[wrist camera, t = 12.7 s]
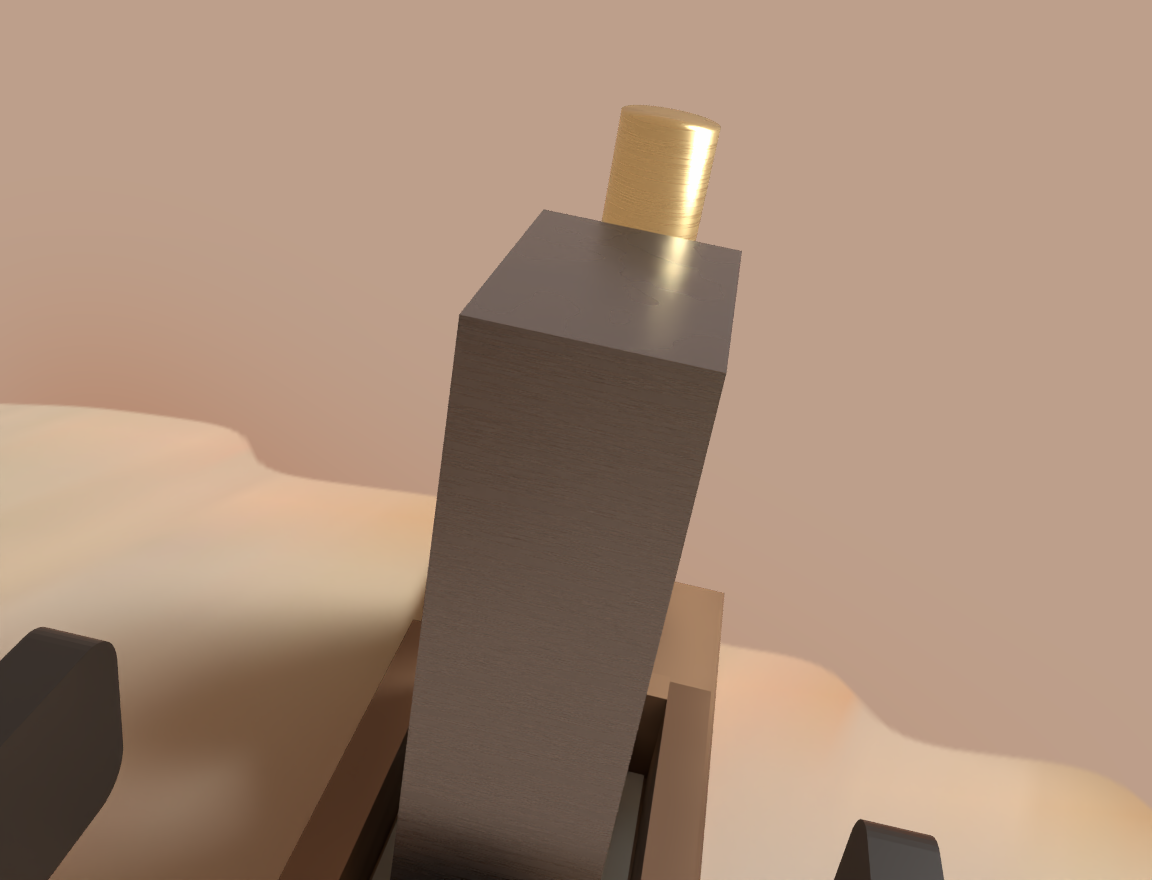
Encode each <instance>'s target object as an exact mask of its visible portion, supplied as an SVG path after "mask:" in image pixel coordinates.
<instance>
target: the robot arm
mask: <svg viewBox="0 0 1152 880" xmlns="http://www.w3.org/2000/svg"><path fill="white" fill-rule="evenodd" d="M122 754H123V738H122V723H121V709H120V694H119V680H118V665H117V655H116V651H115V648H114V647H113V645H112V644H111V643H110V642H106V641H102V640H98V639H94V638H89V637H85V636H81V635H76V634H72V633H68V632H63V631H59V630H55V629H51V628H46V627H40V628H37V629H34V630H33V631H31V632H30V633H28V634H27V635H26V636H25V637H24V638H23V639H22V640H21V641H20V642H19V643H18V644H17V645H16V646H15V647H14V648H13V649H12V650H11V651H10V652H9V653H8V654H7V655H6V656H5V657H4V658H3V659H2V660H0V880H48V879H49V878H50V876H51V875H52V874H53V872H54V871H55V870H56V868H57V867H58V866H59V864H60V863H61V862H62V860H63V859H64V858H65V856H66V855H67V854H68V852H69V851H70V849H71V848H72V847H73V845H74V844H75V843H76V841H77V840H78V839H79V837H80V836H81V835H82V833H83V832H84V831H85V829H86V828H87V827H88V825H89V824H90V823H91V821H92V820H93V819H94V817H95V816H96V815H97V813H98V812H99V811H100V809H101V808H102V806H103V805H104V803H105V802H106V800H107V798H108V797H109V795H110V793H111V791H112V789H113V786H114V784H115V781H116V779H117V776H118V773H119V769H120V765H121V761H122ZM834 880H944V877H943V870H942V864H941V858H940V852H939V847H938V844H937V841H936V840H935V838H934V837H933V836H931V835H926V834H922V833H918V832H913V831H909V830H905V829H901V828H896V827H892V826H888V825H883V824H879V823H875V822H870V821H866V820H862V819H860V820H858V821H857V822H856V824H855V825H854V827H853V829H852V832H851V834H850V837H849V840H848V843H847V845H846V848H845V851H844V854H843V856H842V859H841V862H840V865H839V868H838V870H837V873H836V876H835V879H834Z"/></svg>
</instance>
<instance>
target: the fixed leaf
mask: <svg viewBox="0 0 1152 880" xmlns="http://www.w3.org/2000/svg"><path fill="white" fill-rule="evenodd" d="M720 128H721V127H720V125H719V124H718V123H716V122H714V121H712V120H710V119H708V118H705V117H702V116H699V115H696V114H692V113H688V112H684V111H679V110H675V109H670V108H664V107H656V106H647V105H629V106H624V107H623V108H622V110H621V116H620V122H619V127H618V133H617V139H616V144H615V150H614V156H613V161H612V167H611V172H610V177H609V183H608V189H607V194H606V200H605V206H604V211H603V217H602V222H606V223H610V224H615V225H620V226H625V227H629V228H634V229H639V230H644V231H648V232H653V233H658V234H663V235H667V236H672V237H677V238H682V239H686V240H691V241H696V237H697V232H698V228H699V223H700V218H701V214H702V210H703V205H704V201H705V196H706V192H707V187H708V182H709V178H710V173H711V168H712V164H713V159H714V155H715V151H716V146H717V142H718V137H719V132H720Z"/></svg>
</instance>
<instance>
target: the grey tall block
mask: <svg viewBox="0 0 1152 880" xmlns="http://www.w3.org/2000/svg"><path fill="white" fill-rule="evenodd" d="M741 253H742V251H739V250H733V249H729V248H724V247H720V246H715V245H710V244H705V243H701V242H696V241H691V240H686V239H682V238H677V237H672V236H667V235H663V234H658V233H653V232H648V231H644V230H639V229H634V228H629V227H625V226H620V225H615V224H610V223H606V222H601V221H596V220H591V219H587V218H582V217H577V216H572V215H568V214H562V213H558V212H553V211H549V210H543V211H542V212H541V214H540V215H539V216H538V217H537V219H536V220H535V221H534V222H533V224H532V225H531V226H530V227H529V228H528V230H527V231H526V232H525V233H524V235H523V236H522V237H521V239H520V240H519V241H518V242H517V243H516V245H515V246H514V247H513V248H512V250H511V251H510V252H509V253H508V255H507V256H506V257H505V258H504V260H503V261H502V262H501V263H500V265H499V266H498V267H497V268H496V270H495V271H494V272H493V273H492V275H491V276H490V277H489V278H488V280H487V281H486V282H485V283H484V285H483V286H482V287H481V288H480V290H479V291H478V292H477V293H476V295H475V296H474V297H473V298H472V300H471V301H470V302H469V303H468V304H467V306H466V307H465V308H464V310H463V311H462V312H461V313H460V315H459V322H458V330H457V338H456V347H455V355H454V363H453V371H452V379H451V388H450V396H449V404H448V412H447V421H446V428H445V437H444V444H443V453H442V461H441V469H440V477H439V485H438V493H437V501H436V510H435V518H434V526H433V534H432V542H431V550H430V559H429V567H428V575H427V583H426V591H425V599H424V607H423V616H422V624H421V632H420V640H419V648H418V656H417V665H416V673H415V681H414V689H413V697H412V705H411V713H410V722H409V730H408V738H407V746H406V754H405V762H404V771H403V779H402V787H401V795H400V803H399V811H398V819H397V828H396V836H395V844H394V852H393V860H392V868H391V877H390V880H601V876H602V872H603V868H604V864H605V860H606V856H607V852H608V848H609V844H610V840H611V836H612V832H613V828H614V824H615V820H616V816H617V812H618V808H619V804H620V800H621V795H622V791H623V787H624V783H625V779H626V775H627V771H628V767H629V763H630V759H631V755H632V751H633V747H634V743H635V739H636V735H637V731H638V727H639V723H640V719H641V715H642V711H643V707H644V703H645V699H646V695H647V691H648V687H649V683H650V679H651V675H652V671H653V667H654V662H655V658H656V654H657V650H658V646H659V642H660V638H661V634H662V630H663V626H664V622H665V618H666V614H667V610H668V606H669V602H670V598H671V594H672V590H673V586H674V582H675V578H676V574H677V570H678V565H679V562H680V558H681V554H682V549H683V546H684V542H685V537H686V533H687V529H688V525H689V521H690V517H691V513H692V509H693V505H694V501H695V497H696V493H697V489H698V485H699V481H700V477H701V473H702V469H703V465H704V460H705V457H706V453H707V449H708V445H709V441H710V437H711V433H712V429H713V424H714V421H715V417H716V413H717V408H718V405H719V400H720V396H721V392H722V388H723V384H724V380H725V376H726V371H727V364H728V356H729V348H730V340H731V332H732V323H733V317H734V308H735V301H736V293H737V285H738V277H739V269H740V261H741Z"/></svg>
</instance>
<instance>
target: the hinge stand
mask: <svg viewBox="0 0 1152 880" xmlns="http://www.w3.org/2000/svg"><path fill="white" fill-rule="evenodd" d="M723 603H724V593H722V592H717V591H713V590H709V589H704V588H700V587H695V586H691V585H687V584H683V583H679V582H674V586H673V590H672V594H671V598H670V602H669V606H668V610H667V614H666V618H665V622H664V626H663V630H662V634H661V638H660V642H659V646H658V650H657V654H656V658H655V662H654V667H653V671H652V675H651V679H650V683H649V687H648V691H647V695H646V699H645V703H644V707H643V711H642V715H641V719H640V723H639V727H638V731H637V735H636V739H635V743H634V747H633V751H632V755H631V759H630V763H629V767H628V771H627V775H626V779H625V783H624V787H623V791H622V795H621V800H620V804H619V808H618V812H617V816H616V820H615V824H614V828H613V832H612V836H611V840H610V844H609V848H608V852H607V856H606V860H605V864H604V868H603V872H602V876H601V880H700V875H701V863H702V851H703V840H704V828H705V816H706V804H707V792H708V780H709V769H710V757H711V745H712V733H713V721H714V709H715V698H716V686H717V674H718V662H719V650H720V638H721V627H722V615H723ZM421 624H422V622H421V621H417V620H413V621H412V623H411V625H410V627H409V629H408V631H407V633H406V635H405V637H404V638H403V640H402V642H401V644H400V646H399V648H398V650H397V652H396V654H395V656H394V658H393V660H392V662H391V664H390V665H389V667H388V669H387V671H386V673H385V675H384V677H383V679H382V681H381V683H380V685H379V687H378V689H377V691H376V693H375V694H374V696H373V698H372V700H371V702H370V704H369V706H368V708H367V710H366V712H365V714H364V716H363V718H362V720H361V721H360V723H359V725H358V727H357V729H356V731H355V733H354V735H353V737H352V739H351V741H350V743H349V745H348V747H347V748H346V750H345V752H344V754H343V756H342V758H341V760H340V762H339V764H338V766H337V768H336V770H335V772H334V774H333V775H332V777H331V779H330V781H329V783H328V785H327V787H326V789H325V791H324V793H323V795H322V797H321V799H320V801H319V802H318V804H317V806H316V808H315V810H314V812H313V814H312V816H311V818H310V820H309V822H308V824H307V826H306V828H305V829H304V831H303V833H302V835H301V837H300V839H299V841H298V843H297V845H296V847H295V849H294V851H293V853H292V855H291V856H290V858H289V860H288V862H287V864H286V866H285V868H284V870H283V872H282V874H281V876H280V878H279V880H390V877H391V868H392V860H393V852H394V844H395V836H396V828H397V819H398V811H399V803H400V795H401V787H402V779H403V771H404V762H405V754H406V746H407V738H408V730H409V722H410V713H411V705H412V697H413V689H414V681H415V673H416V665H417V656H418V648H419V640H420V632H421Z"/></svg>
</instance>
